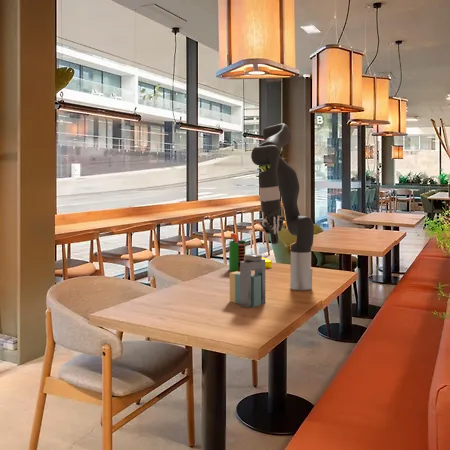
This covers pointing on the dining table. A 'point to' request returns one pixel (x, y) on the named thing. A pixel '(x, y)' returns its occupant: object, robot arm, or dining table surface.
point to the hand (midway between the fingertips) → (274, 243)
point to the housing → (245, 278)
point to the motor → (236, 253)
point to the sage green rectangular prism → (254, 288)
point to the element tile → (267, 263)
